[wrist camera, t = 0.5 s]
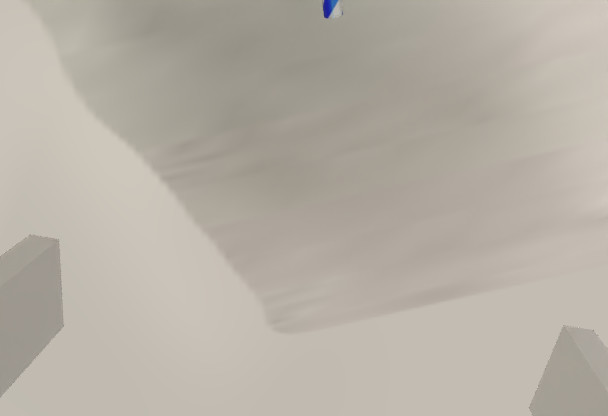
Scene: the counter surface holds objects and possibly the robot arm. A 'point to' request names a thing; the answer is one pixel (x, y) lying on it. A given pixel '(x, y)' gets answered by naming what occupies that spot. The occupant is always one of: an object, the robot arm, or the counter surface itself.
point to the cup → (332, 8)
